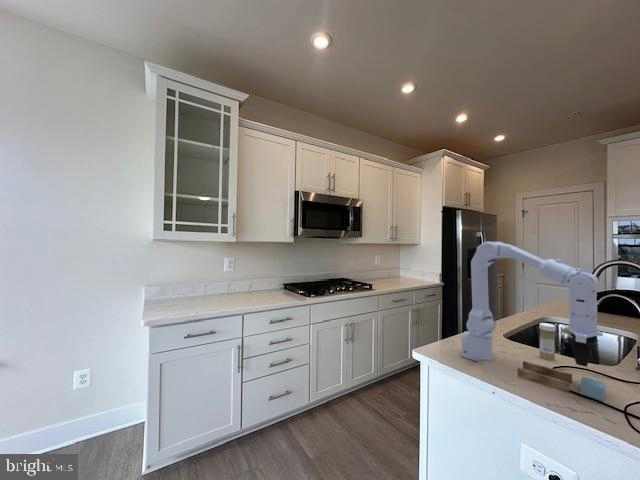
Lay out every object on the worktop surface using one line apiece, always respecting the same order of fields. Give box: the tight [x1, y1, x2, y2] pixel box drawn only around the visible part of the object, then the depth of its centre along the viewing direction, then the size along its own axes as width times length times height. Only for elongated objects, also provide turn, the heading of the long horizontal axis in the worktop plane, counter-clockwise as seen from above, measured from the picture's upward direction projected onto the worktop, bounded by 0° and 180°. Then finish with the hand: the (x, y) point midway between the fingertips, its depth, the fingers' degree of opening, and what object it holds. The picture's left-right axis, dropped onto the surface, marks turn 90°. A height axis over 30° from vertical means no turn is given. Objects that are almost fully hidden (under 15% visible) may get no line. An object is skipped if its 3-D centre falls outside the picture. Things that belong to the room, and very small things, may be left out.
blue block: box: [579, 376, 606, 402], centre depth 76 cm, size 4×4×4 cm
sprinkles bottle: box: [538, 322, 556, 362], centre depth 100 cm, size 5×5×13 cm
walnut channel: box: [517, 360, 573, 394], centre depth 84 cm, size 12×8×4 cm
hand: (582, 361), depth 78 cm, fingers open, 6 cm apart
